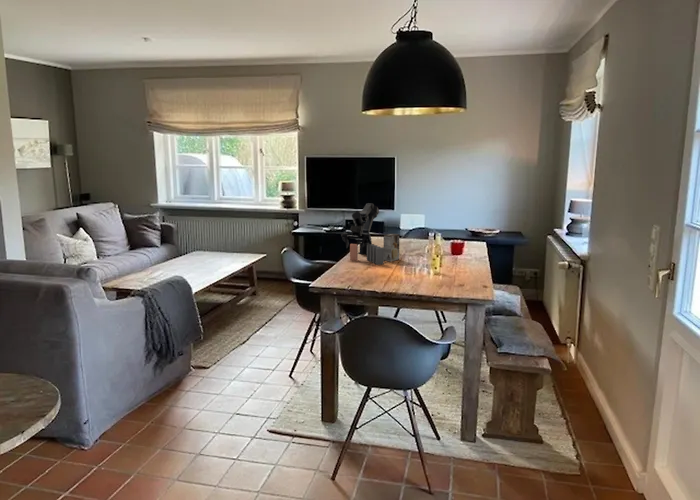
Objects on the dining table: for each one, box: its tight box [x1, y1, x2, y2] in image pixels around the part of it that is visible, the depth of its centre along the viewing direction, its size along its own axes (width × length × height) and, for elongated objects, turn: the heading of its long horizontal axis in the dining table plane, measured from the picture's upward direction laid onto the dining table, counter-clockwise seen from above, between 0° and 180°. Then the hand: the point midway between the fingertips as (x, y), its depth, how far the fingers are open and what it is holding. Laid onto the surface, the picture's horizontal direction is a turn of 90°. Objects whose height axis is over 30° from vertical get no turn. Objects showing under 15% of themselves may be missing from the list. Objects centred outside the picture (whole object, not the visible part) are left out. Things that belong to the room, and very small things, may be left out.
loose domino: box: [349, 243, 359, 261], centre depth 339 cm, size 2×4×10 cm, turn 72°
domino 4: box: [375, 246, 385, 266], centre depth 325 cm, size 2×4×10 cm, turn 112°
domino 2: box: [369, 244, 378, 263], centre depth 333 cm, size 2×4×10 cm, turn 112°
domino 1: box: [366, 243, 375, 262], centre depth 337 cm, size 2×4×10 cm, turn 112°
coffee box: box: [383, 233, 400, 262], centre depth 337 cm, size 9×6×16 cm
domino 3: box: [372, 245, 381, 264], centre depth 329 cm, size 2×4×10 cm, turn 112°
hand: (353, 248), depth 337 cm, fingers open, 9 cm apart
